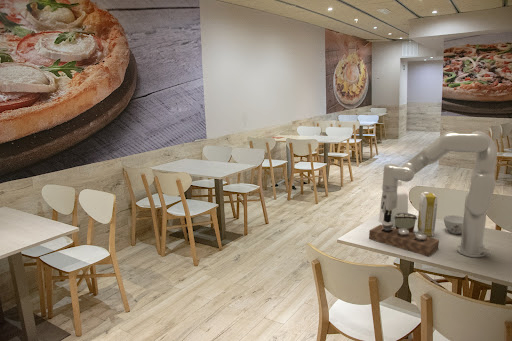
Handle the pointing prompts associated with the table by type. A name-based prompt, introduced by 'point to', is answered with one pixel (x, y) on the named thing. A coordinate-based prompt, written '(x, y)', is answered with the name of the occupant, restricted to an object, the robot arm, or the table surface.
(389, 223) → the knob
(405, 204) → the milk
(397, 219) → the food container
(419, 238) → the knob
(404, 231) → the knob
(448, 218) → the teacup
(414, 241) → the knob mount
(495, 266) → the table surface
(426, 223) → the juice carton
